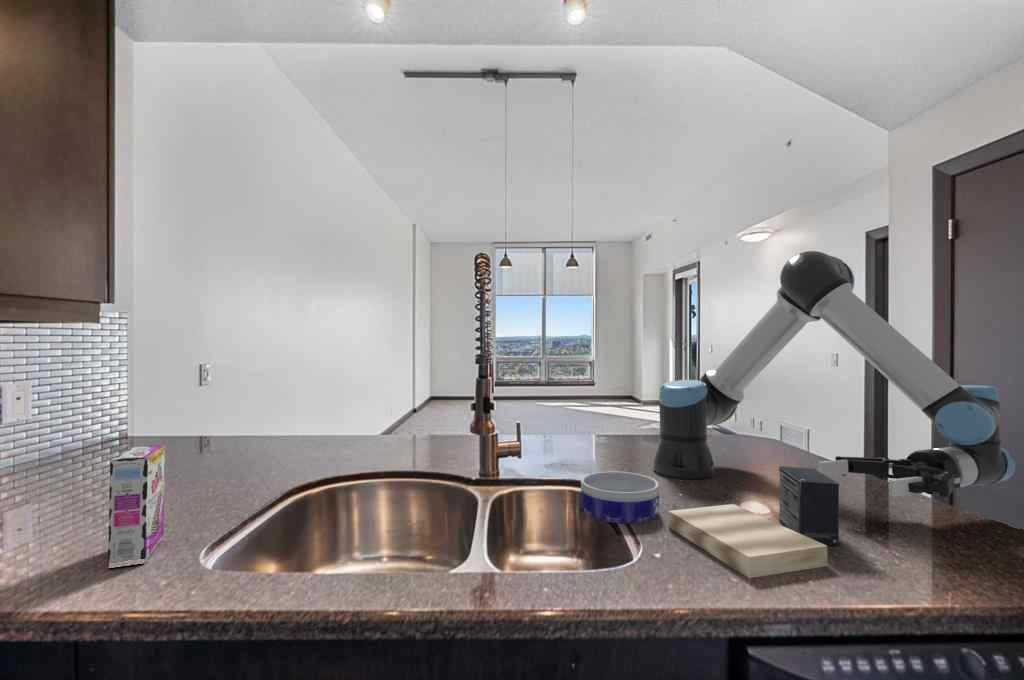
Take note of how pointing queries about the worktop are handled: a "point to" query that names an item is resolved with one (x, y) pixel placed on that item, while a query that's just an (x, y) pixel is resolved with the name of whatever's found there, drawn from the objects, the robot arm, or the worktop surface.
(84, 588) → the worktop surface
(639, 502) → the dog bowl
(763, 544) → the maple board
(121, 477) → the candy bar box
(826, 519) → the small box
